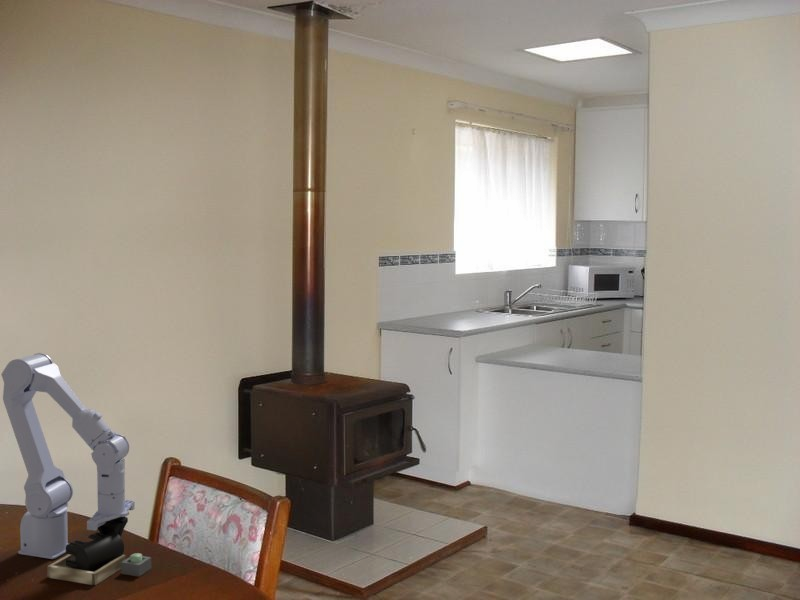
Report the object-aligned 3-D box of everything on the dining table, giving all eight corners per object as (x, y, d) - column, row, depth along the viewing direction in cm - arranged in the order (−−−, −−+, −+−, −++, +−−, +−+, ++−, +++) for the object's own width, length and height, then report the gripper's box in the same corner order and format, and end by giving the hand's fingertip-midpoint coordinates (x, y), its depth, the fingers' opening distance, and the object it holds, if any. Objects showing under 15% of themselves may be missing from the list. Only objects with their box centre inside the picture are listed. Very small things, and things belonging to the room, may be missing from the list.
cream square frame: (47, 577, 178) (47, 566, 177) (79, 558, 188) (79, 548, 187) (95, 585, 174) (95, 574, 174) (125, 565, 184) (125, 555, 184)
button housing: (121, 573, 180) (121, 562, 180) (133, 565, 184) (133, 554, 184) (139, 576, 179) (139, 565, 179) (151, 568, 183) (151, 557, 183)
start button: (128, 571, 181) (127, 556, 181) (134, 567, 183) (134, 552, 183) (137, 572, 180) (137, 558, 180) (144, 568, 183) (144, 554, 182)
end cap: (88, 581, 176) (87, 549, 175) (64, 574, 179) (63, 542, 179) (125, 564, 185) (124, 534, 184) (101, 557, 188) (101, 528, 188)
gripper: (106, 503, 180) (107, 566, 181) (146, 483, 194) (146, 541, 195) (78, 499, 182) (79, 561, 183) (118, 480, 196) (119, 537, 197)
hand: (111, 551), depth 189 cm, fingers closed
